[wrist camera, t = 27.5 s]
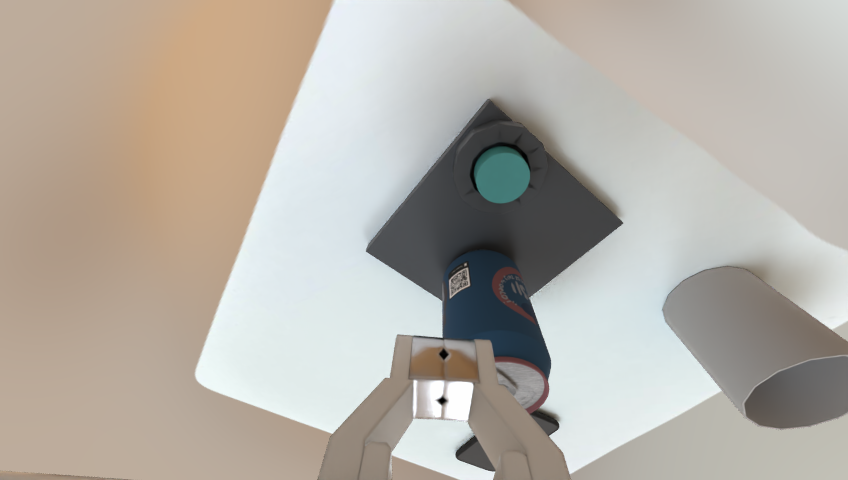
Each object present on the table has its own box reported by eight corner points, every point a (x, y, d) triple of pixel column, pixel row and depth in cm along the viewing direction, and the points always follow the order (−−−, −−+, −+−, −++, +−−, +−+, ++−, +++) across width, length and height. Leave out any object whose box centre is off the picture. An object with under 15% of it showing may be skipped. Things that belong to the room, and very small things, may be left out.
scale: (368, 244, 30) (361, 262, 28) (490, 95, 23) (496, 101, 21) (486, 322, 34) (489, 344, 32) (619, 214, 28) (638, 231, 25)
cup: (743, 250, 29) (872, 336, 20) (771, 305, 32) (895, 401, 23) (648, 298, 32) (725, 389, 23) (681, 344, 35) (761, 441, 26)
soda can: (533, 278, 30) (582, 399, 20) (473, 314, 32) (488, 438, 22) (488, 227, 27) (516, 335, 17) (426, 271, 30) (419, 387, 20)
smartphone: (452, 458, 47) (516, 407, 40) (452, 451, 48) (515, 400, 41) (494, 473, 48) (564, 427, 41) (494, 466, 49) (561, 419, 42)
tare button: (463, 174, 24) (465, 183, 22) (498, 134, 22) (502, 141, 21) (499, 203, 25) (503, 213, 23) (535, 167, 23) (541, 175, 22)
